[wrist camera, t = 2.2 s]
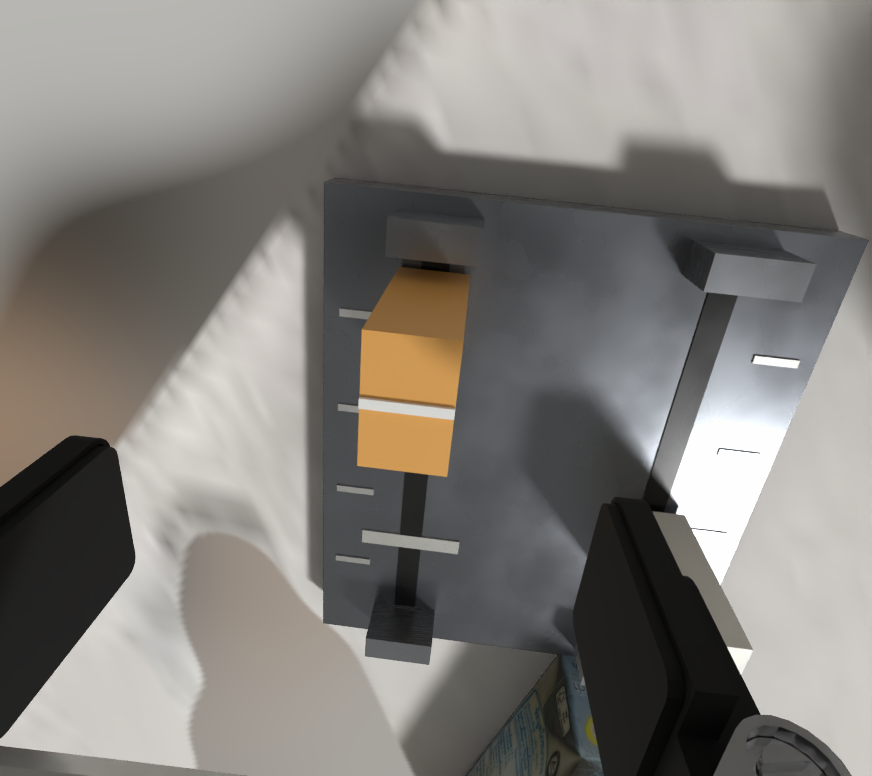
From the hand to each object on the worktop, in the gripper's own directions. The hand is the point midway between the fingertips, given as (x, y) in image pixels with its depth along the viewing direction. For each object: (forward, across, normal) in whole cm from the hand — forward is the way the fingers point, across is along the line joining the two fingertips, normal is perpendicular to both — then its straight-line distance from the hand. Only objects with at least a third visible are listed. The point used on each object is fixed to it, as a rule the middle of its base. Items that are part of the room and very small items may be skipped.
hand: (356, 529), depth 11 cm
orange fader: (+11, -1, -1) cm, 11 cm away
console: (+13, -6, +5) cm, 15 cm away
